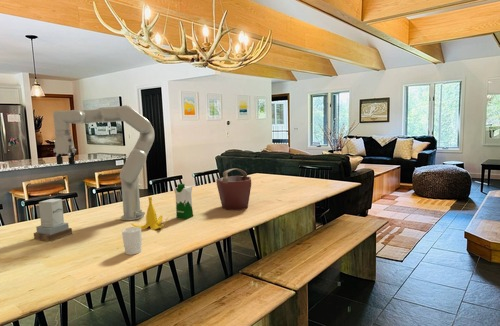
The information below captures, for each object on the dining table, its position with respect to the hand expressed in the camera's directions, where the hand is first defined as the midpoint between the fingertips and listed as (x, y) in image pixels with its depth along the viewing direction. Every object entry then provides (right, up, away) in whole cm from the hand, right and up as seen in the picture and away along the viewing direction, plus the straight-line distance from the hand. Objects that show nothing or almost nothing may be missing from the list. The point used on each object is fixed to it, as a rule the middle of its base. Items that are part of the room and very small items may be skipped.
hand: (65, 164), depth 186 cm
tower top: (+3, -34, -17) cm, 37 cm away
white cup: (+51, -38, -40) cm, 76 cm away
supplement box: (+3, -31, -17) cm, 35 cm away
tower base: (+3, -37, -16) cm, 40 cm away
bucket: (+92, -28, +32) cm, 102 cm away
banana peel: (+47, -34, -6) cm, 59 cm away
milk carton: (+64, -31, +11) cm, 72 cm away
